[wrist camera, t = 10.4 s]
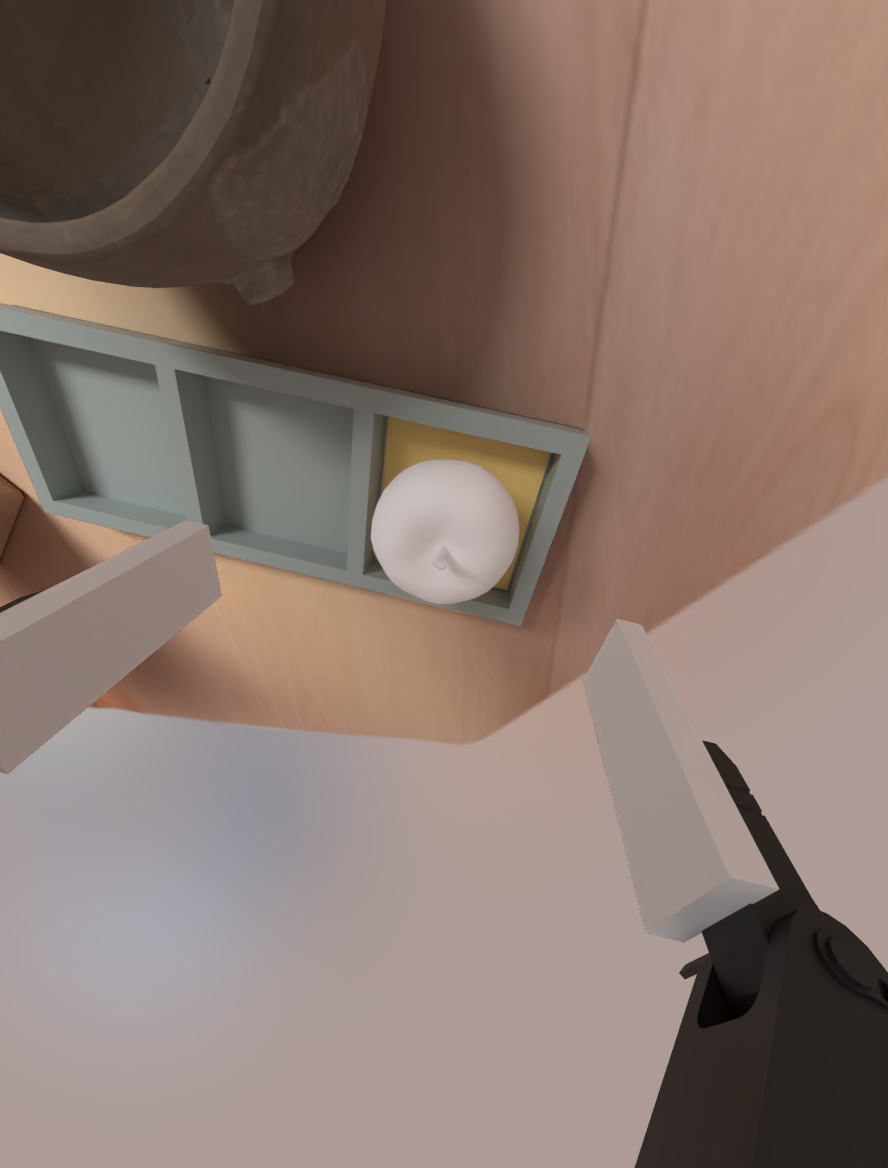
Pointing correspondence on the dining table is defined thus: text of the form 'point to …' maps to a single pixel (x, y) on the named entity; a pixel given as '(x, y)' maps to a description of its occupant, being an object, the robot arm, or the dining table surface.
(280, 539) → the grey-green compartment tray
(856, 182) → the dining table surface
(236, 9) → the bowl
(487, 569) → the plain white apple
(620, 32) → the dining table surface
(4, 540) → the wooden block
